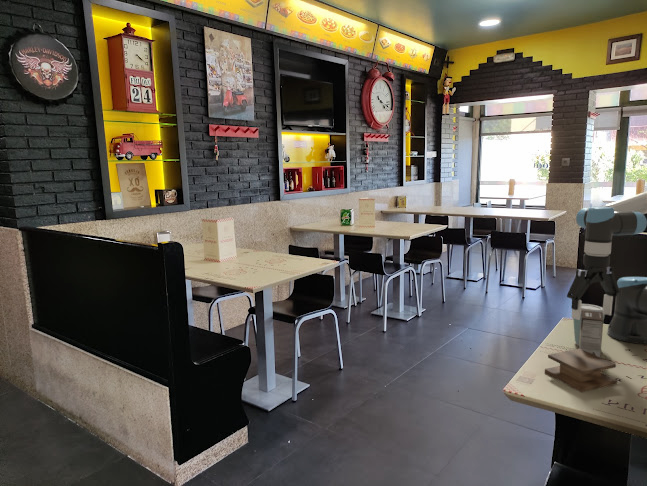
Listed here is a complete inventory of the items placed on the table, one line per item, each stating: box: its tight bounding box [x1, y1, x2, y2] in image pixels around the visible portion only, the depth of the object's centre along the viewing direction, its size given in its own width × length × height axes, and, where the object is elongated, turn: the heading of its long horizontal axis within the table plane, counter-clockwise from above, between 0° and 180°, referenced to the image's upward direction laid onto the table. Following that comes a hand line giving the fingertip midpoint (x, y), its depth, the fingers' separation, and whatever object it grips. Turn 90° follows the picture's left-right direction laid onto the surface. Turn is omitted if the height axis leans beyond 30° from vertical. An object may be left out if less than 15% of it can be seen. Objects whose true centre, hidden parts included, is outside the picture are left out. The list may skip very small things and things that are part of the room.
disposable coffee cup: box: [572, 303, 607, 346], centre depth 167 cm, size 11×11×15 cm
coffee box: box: [578, 310, 604, 358], centre depth 155 cm, size 9×6×16 cm
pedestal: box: [544, 348, 618, 393], centre depth 143 cm, size 14×14×6 cm
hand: (591, 316), depth 153 cm, fingers open, 13 cm apart
